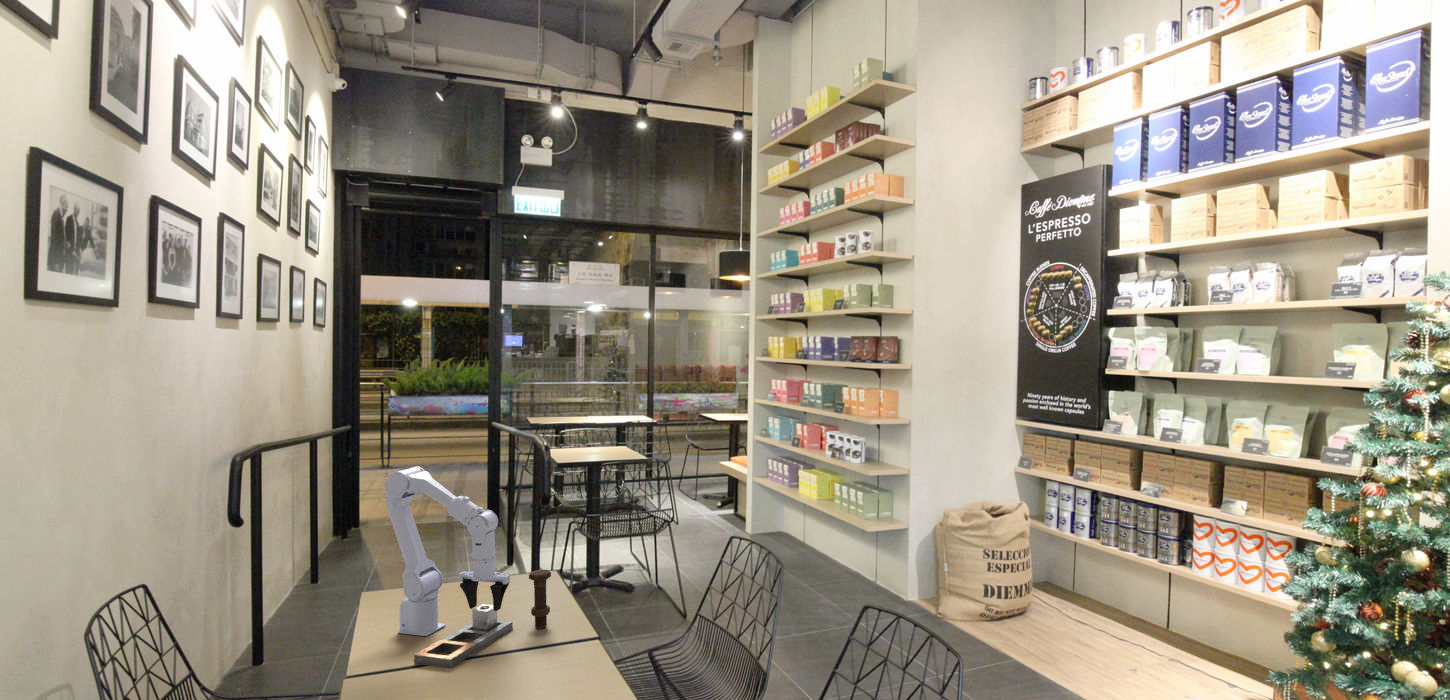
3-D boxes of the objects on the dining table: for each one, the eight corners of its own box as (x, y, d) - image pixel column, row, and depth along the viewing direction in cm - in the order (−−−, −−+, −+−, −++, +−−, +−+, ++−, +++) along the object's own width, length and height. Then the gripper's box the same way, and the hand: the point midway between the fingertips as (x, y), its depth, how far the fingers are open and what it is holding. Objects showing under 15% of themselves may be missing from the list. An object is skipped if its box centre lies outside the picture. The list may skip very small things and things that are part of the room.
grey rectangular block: (472, 636, 194) (472, 609, 194) (483, 630, 198) (482, 603, 198) (487, 638, 192) (486, 610, 192) (497, 631, 197) (497, 605, 197)
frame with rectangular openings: (414, 663, 177) (414, 654, 177) (479, 625, 201) (479, 617, 201) (450, 668, 174) (450, 659, 174) (512, 629, 198) (512, 621, 198)
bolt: (544, 631, 196) (543, 575, 196) (527, 630, 197) (526, 574, 197) (554, 623, 201) (553, 569, 202) (537, 622, 202) (536, 568, 203)
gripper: (451, 560, 194) (452, 611, 193) (498, 563, 189) (499, 616, 189) (468, 553, 200) (469, 602, 200) (514, 556, 196) (515, 606, 196)
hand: (485, 608), depth 195 cm, fingers open, 7 cm apart
